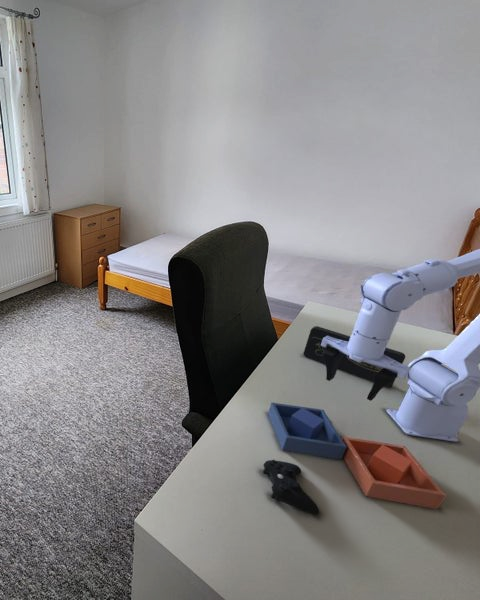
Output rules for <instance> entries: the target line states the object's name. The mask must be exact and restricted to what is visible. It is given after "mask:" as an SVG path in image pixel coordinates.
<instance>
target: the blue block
mask: <svg viewBox="0 0 480 600" xmlns="http://www.w3.org/2000/svg"><path fill="white" fill-rule="evenodd" d="M323 423H324V420H323V419H322V418H320V417H318V416H316V415H314V414H313V413H311V412H309V411H307V410H306V409H304V408H301V409H300V410H299V411H297V412H296V413H294V414H293V415H292V416H291V419H290V422H289V425H288V428H287V432H289V433H291V434H292V435H294V436H295V437H300V438H307V439H313V440H314V439H315V438H317V437H318V436H319V433H320V431H321V428H322V425H323Z"/></svg>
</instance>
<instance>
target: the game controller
mask: <svg viewBox="0 0 480 600" xmlns="http://www.w3.org/2000/svg"><path fill="white" fill-rule="evenodd" d="M263 467H264V469H263V471H262V474H263V475H267V476H269V477H270V481H271V484H272V485H271V492H272V493H271V495H270V498H271V499H273V500H275V501H276V502H281V503H284V504H287V505H289V506H291V507H293V508H296V509H298V510H300V511H303V512H304V513H309V514H312V515H319V514H320V509H319V507H318V505H317V503H316V502H315V501H314V500H313V499H312V498H311V496H309V495H308V494H307V493H306V492H305V490H304V489H303V488H302V486H301V484H300V482H299V481H298V478H297V476H300V475H301V474H302V469H301V467H300V466H299V465H297V464H295V463H293V462H292V463H291V462H288V461H282V460H276V459H269V460H266V461H265V462H264V463H263Z"/></svg>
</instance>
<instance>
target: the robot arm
mask: <svg viewBox="0 0 480 600" xmlns="http://www.w3.org/2000/svg"><path fill="white" fill-rule="evenodd" d="M477 274H480V248H478V249H475V250H473V251H470V252H468V253H465V254H463V255H461V256H458V257H455V258H453V259H450V260H448V261H446V260H443V259H439V258H436V259H435V258H428V259H426V260H424V262H422V263H419V264H415V265H413V266H410V267H407V268H401V269H398V270H397V271H395V272H392V273H388V272H379V273H375V274H372V275H370V276H369V277H368V278H366V279H365V280H364V282H363V284H362V283H361V284H360V286H359V293H360V295H361V300H360V305H361V308H360V310H359V313H358V315H357V318H356V321H355V324H354V326H353V330H352V332H351V335H350V340H349V342H347V341H343V340H339V339H336V338H332V337H329V336H326V337H324V338H323V340H322V343H321V346H323V347H326V349H325V350H324V351H323V357H324V359H325V363H326V364H325V371H326V375H325V380H326V381H327V382H330V381H332V380H334V378H335V377H336V374H337V371H338V369H337V368H338V365H339V362H340V360H341V358H342V356H343V354H346V355H349V356H350V357H349V358H350V359H352V360H355V361H357V362H366V363H369V364H371V365H374V366H376V367H378V368H381V369H382V370H381V371H379V372H378V373H377V374H376V377H375V381H374V382H373V384H372V386H371V389H370V391H369V393H368V394H367V397H366V400H368V401H369V402H371V401H373V400H374V399H375V398H376V396H377V395H378V394H379V393H380V391H381V390H382V389H383V388H384V387H385V386H386V385H387V384H389V383H390V382H392V381H393V380H394V379H395V380H396V379H397V378H399V379H402V380H405V379H406V378H407V379H408V381H407V384H408V386H409V387H408V389H407V391H406V393H405V395H404V398H403V399H402V402H401V403H400V406H399V408H398V409H390V408H387V409H386V412H387V414H388V415H389V416H390V417H391V418H392V419H393V421H394V422H395V423H396V424H397V426H399V427H400V429H401V430H402V431H403V432H404V433H405V434H406V435H408V436H413V437H414V436H415V437H421V438H427V439H435V440H441V441H447V442H448V441H449V442H453V443H454V442H455V443H457V442H459V439H458V438H457V435H458V433H459V432H460V430H461V428H462V427H463V425H464V424H465V421H466V420H467V418H468V416H469V407H468V404H467V403H469V402H470V401H472V400H473V399H474V398H475V397H476V395H477V392H478V391H479V389H480V367H479V365H480V313H479V314H478V315H477V316H476V317H475V318H474V319H473V320H472V321H471V322H470V323H469V324H468V325H467V326H466V327H465V328H464V329H463V330H462V331H461V332H460V333H459V334H458V335H457V336H456V337H455V338H454V339H453V341H451V342H450V343H449V344H448V345H447V346H446V347H445V348H444V349H443V348H442V349H430V350H426V351H425V352H424V353H423V354H422V355H420V356H419V357H417V358H415V359H413V360H412V361H410V362H409V363H408V365H405V364H404V363H403V364H401V363H399V362H397V361H395V360H393V359H391V358H389V357H388V356H386V355H384V354H383V353H384V351H385V348H387V346H388V343H389V341H390V339H391V336H392V334H393V332H394V330H395V327H396V325H397V323H398V320H399V318H400V315H401V314H402V311H405V310H408V309H409V308H410V307H412V306H413V305H414V304H415V303H416V302H418V301H421V299H422V298H424V297H426V296H429V295H432V294H435V293H438V292H441V291H445V290H447V289H450V288H453V287H454V286H455V285H456V284H457V283H458V279H462V278H466V277H469V276H473V275H477Z"/></svg>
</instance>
